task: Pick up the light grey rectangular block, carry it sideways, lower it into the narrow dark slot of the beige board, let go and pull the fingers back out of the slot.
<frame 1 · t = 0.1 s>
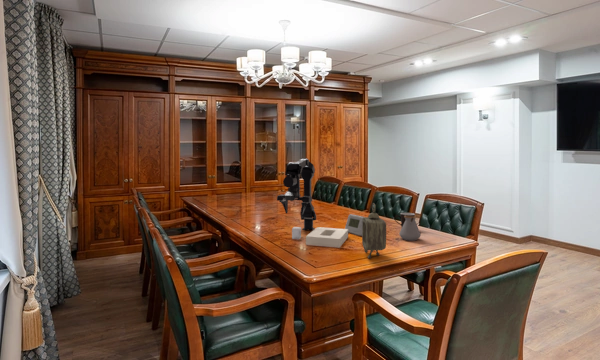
hand: (294, 214, 206), 14 cm above the table, tool pointing down, fingers open, 9 cm apart
light grey rectangular block: (296, 238, 211), on the table
coffee pot: (410, 241, 205), on the table
digital clock: (356, 234, 223), on the table
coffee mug: (404, 229, 234), on the table
shaggy robed figurine: (373, 256, 177), on the table
slot board: (327, 240, 205), on the table
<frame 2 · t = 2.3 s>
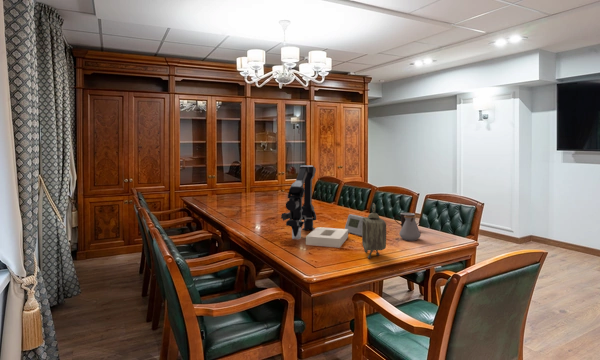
hand: (296, 235, 210), 2 cm above the table, tool pointing down, fingers closed on light grey rectangular block, 4 cm apart
light grey rectangular block: (296, 238, 211), on the table, touching gripper
everything else where it was.
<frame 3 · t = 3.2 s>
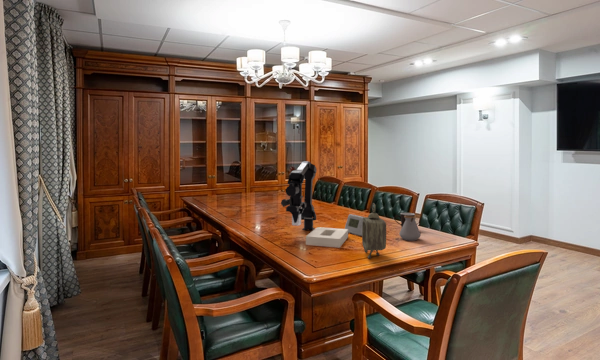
hand: (296, 221, 210), 9 cm above the table, tool pointing down, fingers closed on light grey rectangular block, 4 cm apart
light grey rectangular block: (296, 224, 210), point 8 cm above the table, touching gripper
everything else where it was.
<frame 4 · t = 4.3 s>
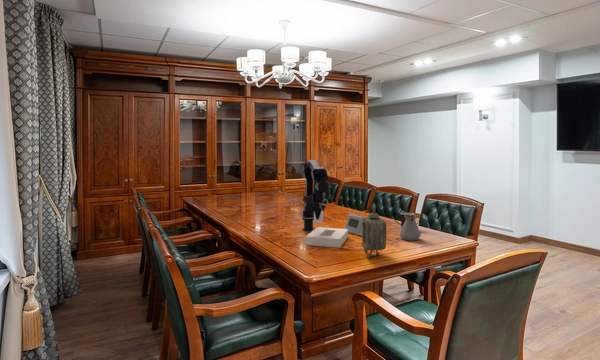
hand: (318, 219, 205), 12 cm above the table, tool pointing down, fingers closed on light grey rectangular block, 4 cm apart
light grey rectangular block: (318, 221, 206), point 10 cm above the table, touching gripper
everything else where it was.
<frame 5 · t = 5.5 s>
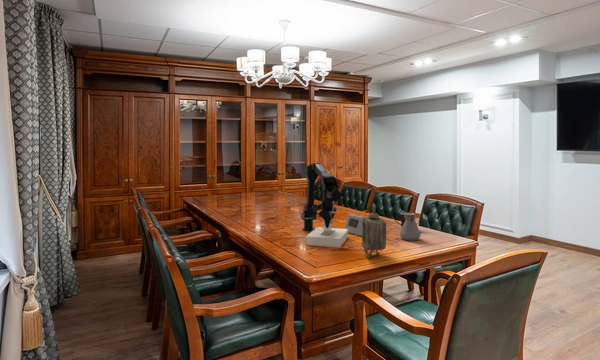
hand: (327, 227, 205), 7 cm above the table, tool pointing down, fingers closed on light grey rectangular block, 4 cm apart
light grey rectangular block: (327, 229, 205), point 6 cm above the table, touching gripper
everything else where it was.
when the fingers open (3 cm above the table, at t = 6.5 s): light grey rectangular block drops 1 cm, resting on slot board.
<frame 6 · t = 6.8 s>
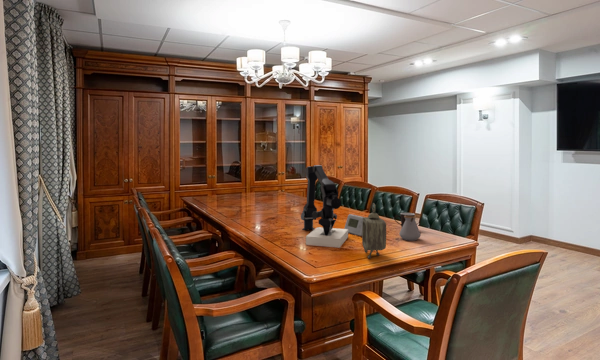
hand: (327, 234, 205), 3 cm above the table, tool pointing down, fingers open, 7 cm apart
light grey rectangular block: (327, 239, 205), resting on slot board
everything else where it was.
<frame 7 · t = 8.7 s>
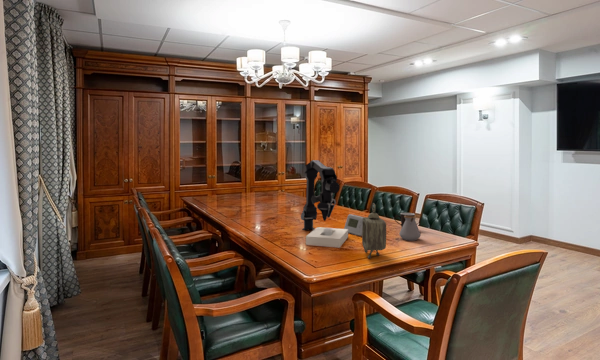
hand: (326, 219, 206), 12 cm above the table, tool pointing down, fingers open, 9 cm apart
nothing on the table moved.
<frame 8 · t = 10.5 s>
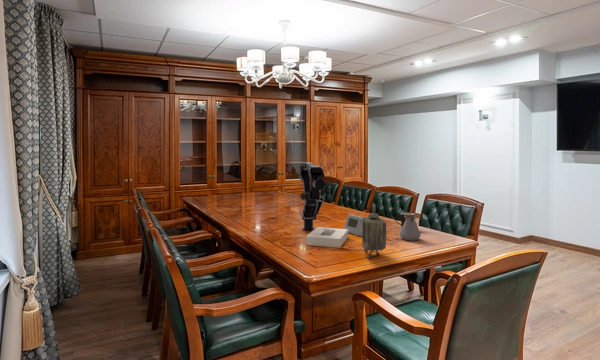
hand: (315, 214, 217), 12 cm above the table, tool pointing down, fingers open, 9 cm apart
nothing on the table moved.
at the end: light grey rectangular block inside the target area on the slot board (0.0 cm from its centre), point 0.5 cm above the slot board's base; light grey rectangular block tilted 0°; the gripper is holding nothing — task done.
